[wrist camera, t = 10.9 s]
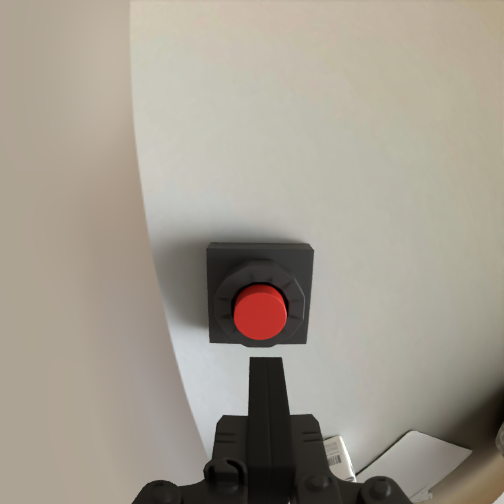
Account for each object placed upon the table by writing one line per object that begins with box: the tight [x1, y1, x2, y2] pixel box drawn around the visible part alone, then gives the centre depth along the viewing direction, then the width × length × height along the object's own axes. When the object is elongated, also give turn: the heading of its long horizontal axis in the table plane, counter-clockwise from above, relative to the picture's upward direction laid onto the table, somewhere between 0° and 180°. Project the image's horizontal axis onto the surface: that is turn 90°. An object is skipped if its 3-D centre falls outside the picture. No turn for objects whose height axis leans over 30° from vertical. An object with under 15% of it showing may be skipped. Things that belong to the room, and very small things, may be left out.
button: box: [234, 284, 287, 340], centre depth 22 cm, size 4×4×2 cm
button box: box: [207, 242, 314, 347], centre depth 24 cm, size 8×8×4 cm
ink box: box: [289, 436, 357, 504], centre depth 25 cm, size 8×5×12 cm, turn 114°
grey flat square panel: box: [355, 430, 472, 503], centre depth 34 cm, size 25×24×1 cm
